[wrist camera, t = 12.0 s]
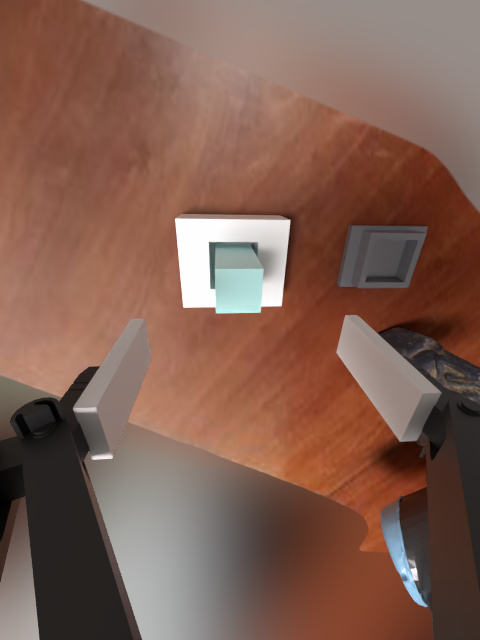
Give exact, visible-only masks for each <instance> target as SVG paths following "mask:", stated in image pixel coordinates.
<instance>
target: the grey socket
mask: <svg viewBox="0 0 480 640" xmlns="http://www.w3.org/2000/svg"><path fill="white" fill-rule="evenodd" d="M427 228H428V227H427V226H412V225H349V226H348V231H347V236H346V241H345V246H344V251H343V255H342V260H341V265H340V270H339V275H338V280H337V285H338V286H339V287H357V288H408V287H409V284H410V281H411V278H412V275H413V272H414V269H415V266H416V263H417V261H418V258H419V255H420V252H421V249H422V246H423V243H424V240H425V237H426V235H427V233H426V231H427Z"/></svg>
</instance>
